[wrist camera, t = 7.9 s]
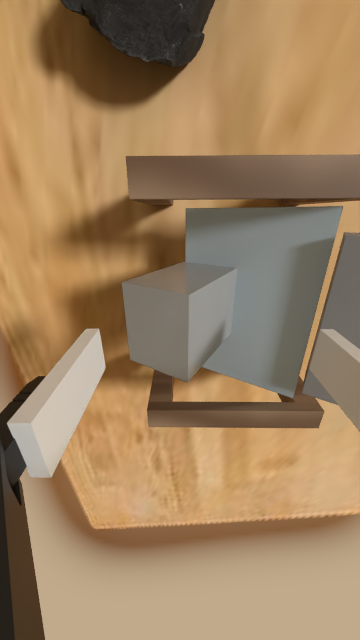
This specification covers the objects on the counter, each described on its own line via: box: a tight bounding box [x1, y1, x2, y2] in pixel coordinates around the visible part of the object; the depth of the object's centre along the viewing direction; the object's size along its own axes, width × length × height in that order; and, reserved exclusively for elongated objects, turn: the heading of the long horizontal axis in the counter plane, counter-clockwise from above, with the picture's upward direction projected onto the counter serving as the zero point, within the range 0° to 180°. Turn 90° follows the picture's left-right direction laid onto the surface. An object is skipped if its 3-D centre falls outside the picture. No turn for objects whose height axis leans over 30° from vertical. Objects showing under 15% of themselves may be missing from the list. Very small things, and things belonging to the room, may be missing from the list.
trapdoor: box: [185, 206, 360, 405], centre depth 19 cm, size 15×16×3 cm
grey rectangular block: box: [122, 262, 237, 382], centre depth 18 cm, size 6×5×8 cm
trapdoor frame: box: [126, 155, 360, 428], centre depth 22 cm, size 20×15×12 cm
